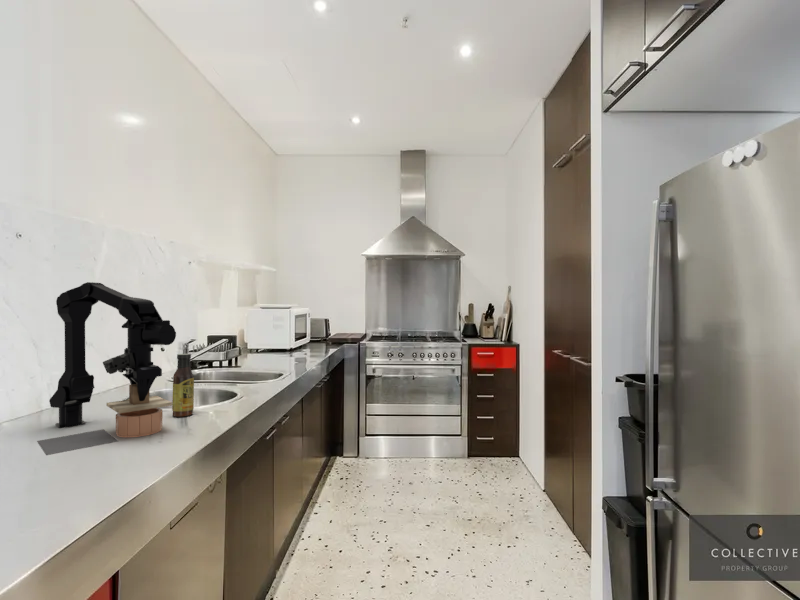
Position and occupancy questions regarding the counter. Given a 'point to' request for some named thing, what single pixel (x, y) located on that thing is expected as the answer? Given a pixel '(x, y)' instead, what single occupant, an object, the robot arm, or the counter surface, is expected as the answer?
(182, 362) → the sauce bottle
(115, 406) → the lid
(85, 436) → the mat
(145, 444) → the counter surface
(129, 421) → the bowl
